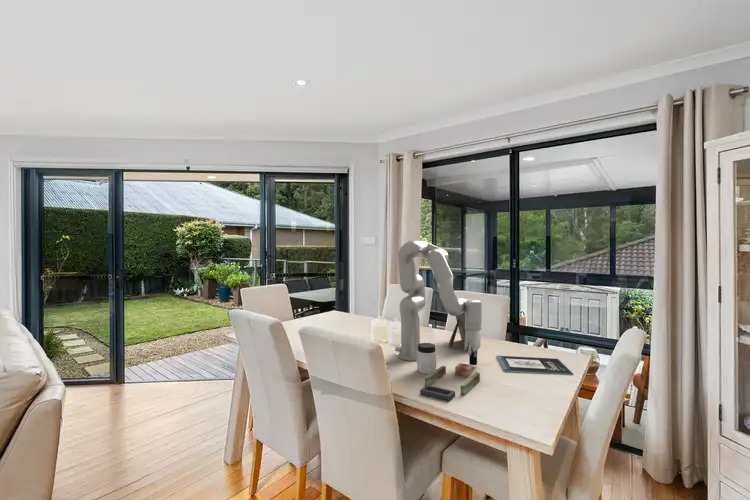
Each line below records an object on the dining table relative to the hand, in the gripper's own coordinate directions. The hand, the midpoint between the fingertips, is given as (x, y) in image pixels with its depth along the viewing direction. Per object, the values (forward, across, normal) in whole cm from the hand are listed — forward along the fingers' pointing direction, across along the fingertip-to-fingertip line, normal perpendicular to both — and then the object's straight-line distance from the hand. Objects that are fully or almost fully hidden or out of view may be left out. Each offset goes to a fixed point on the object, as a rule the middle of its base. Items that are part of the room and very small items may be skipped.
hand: (473, 364), depth 184 cm
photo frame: (+1, -32, -19) cm, 37 cm away
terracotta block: (+1, +12, 0) cm, 12 cm away
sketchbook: (+2, -17, +23) cm, 28 cm away
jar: (+1, +17, -16) cm, 24 cm away
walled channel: (+1, +25, 0) cm, 25 cm away
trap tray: (+1, +40, 0) cm, 40 cm away
